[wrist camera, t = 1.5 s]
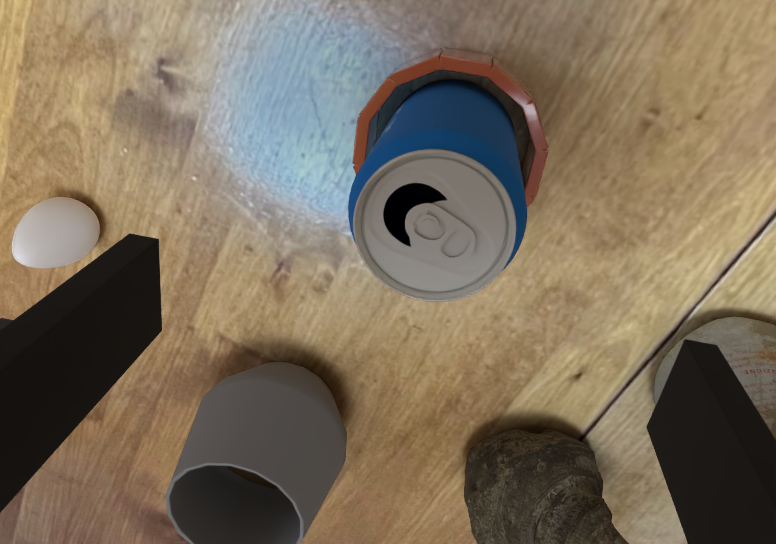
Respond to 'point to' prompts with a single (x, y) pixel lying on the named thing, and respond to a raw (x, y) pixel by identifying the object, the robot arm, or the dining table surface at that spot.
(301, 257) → the dining table surface
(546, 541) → the seashell
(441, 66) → the can cup
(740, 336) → the bottle
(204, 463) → the cup
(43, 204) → the egg
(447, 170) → the beverage can
